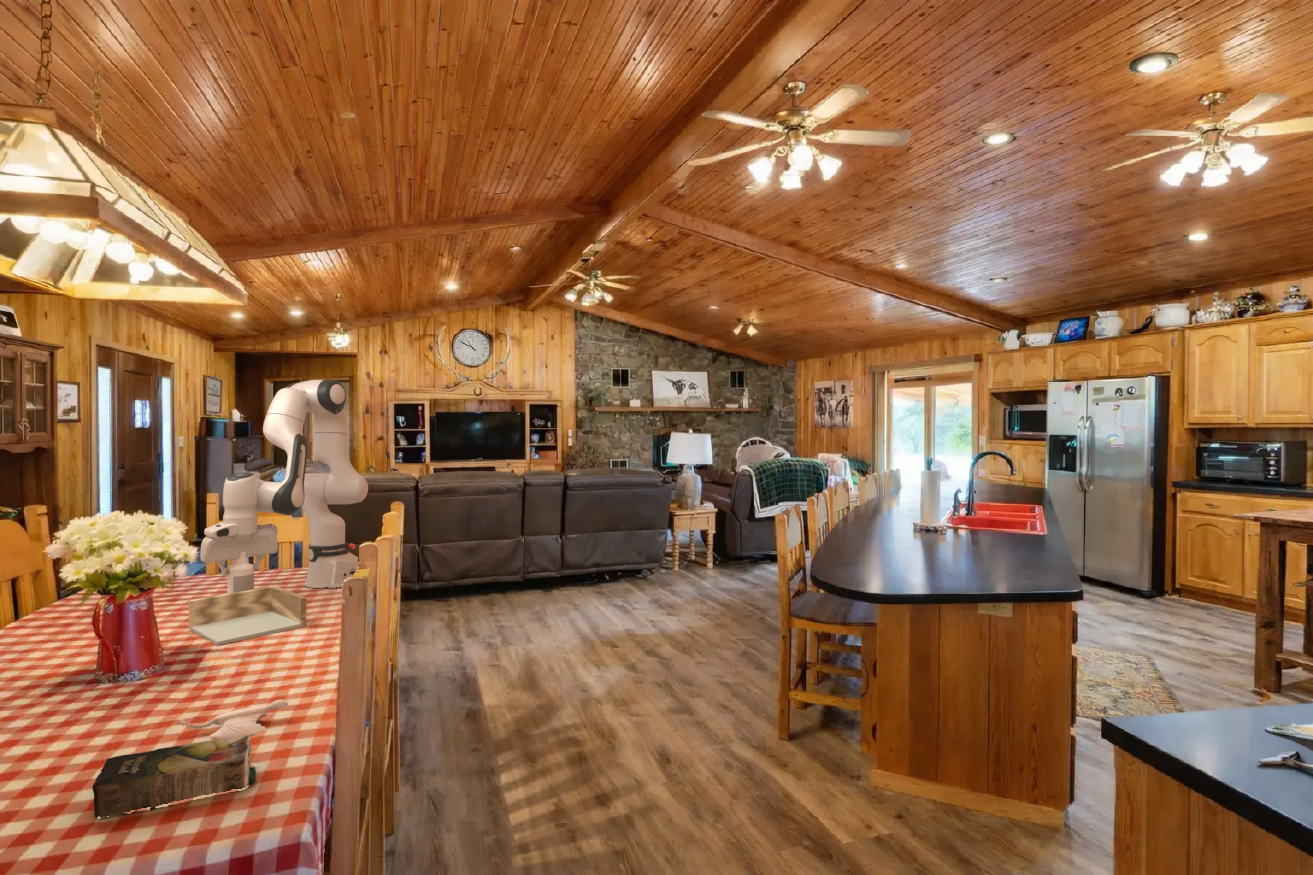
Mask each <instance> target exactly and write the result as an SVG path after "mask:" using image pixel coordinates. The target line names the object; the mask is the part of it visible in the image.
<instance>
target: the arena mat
mask: <svg viewBox="0 0 1313 875" xmlns="http://www.w3.org/2000/svg"><path fill="white" fill-rule="evenodd" d="M299 628H302V627H301V624H300V623H297V622H295V621H293V620H291V619H288V618H286V617H284V616H281V615H279V614H277V613H274V612H272V611H270V612H265V613H260V614H254V615H249V616H244V617H239V618H234V619H229V620H224V621H219V622H214V623H209V624H204V625H199V626H194V627H191V631H190V632H192V631H193V632H192V633H194V634H195V633H196V635H197V634H198V636H199V637H201V636H202V637H204V638H205V639H204V638H203V639H204V640H206V639H207V640H206V641H208V640H209V641H210V643H211V642H213V643H214V644H213V643H212V644H213V645H215V644H216V645H219V646H222V645H221V644H224V645H226V644H225V643H228V644H230V643H229V642H233V643H236V642H241V641H244V640H245V641H246V640H250V639H255V638H258V637H257V636H259V637H263V636H267V634H268V635H272V634H271V633H273V634H276V633H275V632H277V633H280V632H279V631H282V632H286V631H290V630H291V631H292V630H295V629H299ZM202 637H201V638H202ZM254 637H255V638H254ZM209 641H208V642H209ZM216 645H215V646H216Z"/></svg>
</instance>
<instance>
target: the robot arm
mask: <svg viewBox="0 0 1313 875" xmlns="http://www.w3.org/2000/svg"><path fill="white" fill-rule="evenodd" d="M346 401H347V392H346V389H345V387H344V386H343V384H342V383H341V381H338V380H335V379H330V378H326V379H310V380H305V381H300V382H299V381H298V382H297V381H296V382H293V383H290V384H289V385H287V386H286V387H284V388H281V389H279V390H278V391H277V392H276V393H275V395H274V397H273V399H272V401H271V402H270V404H269V407H268V408H267V409H268V410H267V412H266V414H265V418H264V421H263V425H262V432H263V435H264V436H265V438H266V440H267V441H268V442H269V443H271V444H272V445H274V446H275V447H278V448H280V449H281V450H284V451H285V452H286V455H287V461H286V470H285V478H284V479H283V480H282V481H280V482H279V481H268V480H267V481H264V480H262V479H260V478H258V477H256V476H255V474H254V473H252V472H249V471H247V472H237V473H233V474H230V475H228V476H227V477H226V478H225V480H224V483H223V491H222V505H223V508H224V513H223V516H222V521H221V522H218V523H215V524H214V525H211V526H208V527H206V528H205V529H204V531H203V534H204V538H203V539H202V541H201V544H200V556H199V557H200V560H201V561H202V562H203V563H205V564H212V563H216V565H217V566H218V567H219V568H220V570H221V577H225V576H226V577H227V575H229V569H227V568H228V567H225V565H226V562H227V561H233V559H239V558H240V557H241V552H246V557H248V558H252V557H255V559H256V561H255V562H254V563H253V564H252V563H251V564H252V565H254V572H256V571H259V570H260V565H261V563H262V562H263V560H264V556H265V555H273V554H277V552H278V550H279V543H278V538H277V536H278V527H277V525H275V524H273V523H267V524H259V522H258V519H259V518H258V513H266V514H267V513H269V514H278V515H285V516H291V515H294V514H295V513H297V512H298V511H299V510H300V509H301V510H302V511H303V512H304V513H305V516H306V518H307V521H308V526H309V545H308V553H307V554H308V556H307V557H308V570H307V573H306V574H307V575H306V578H305V581H304V587H308V588H311V589H312V588H313V589H314V588H315V589H326V588H327V587H328V588H327V589H330V588H331V589H340V588H341V589H342V588H343V587H342V583H343V581H344V580H345V579H346V578H348V577H350V576H351V575H353V574H354V573H355V572H356V570H357V566H358V558H359V557H358V556H357V555H355V554H353V553H352V552H351V551H350V550H355V549H356V544H355V543H352V542H350V543H349V542H347V541H346V522H345V520H344V519H343V517H341V516H339V515H338V514H336V513H333V512H332V511H330V509H329V507H328V505H352V504H357V503H361V502H363V501H364V500H365V498H366V497H367V495H368V491H369V485H368V481H367V480H366V478H365V476H363V475H362V474H360V473H359V472H358V471H357V470H356V469H355V467H354V466H353V465H352V463H351V460H350V456H349V419H348V412H347V410H346V408H345V405H346ZM307 413H312V414H313V416H314V427H313V439H312V441H313V442H312V454H313V457H314V458H315V459H316V460H317V461H319V462H321V463H323V464H325V465H327V466H328V467H329V470H330V472H328V473H327V472H326V473H325V472H322V473H321V472H308V473H307V472H306V469H307V460H308V447H309V446H308V440H307V437H305V436H304V434H303V429H304V424H305V420H306V415H307ZM257 512H258V513H257ZM240 545H241V546H240ZM325 587H326V588H325ZM336 587H337V588H336ZM339 587H340V588H339Z"/></svg>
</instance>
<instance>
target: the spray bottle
mask: <svg viewBox="0 0 1313 875" xmlns="http://www.w3.org/2000/svg"><path fill="white" fill-rule="evenodd" d="M240 546H241V545H240ZM249 559H250V557H246V552H241V557H240V558H239V559H233V560H232V564H231V565H229V566H228V567H226V568H227V569H229V575H226V579H227V580H226V581H227V586H226V587H227V589H226V590H227V593H226V594H230V593H236V592H242V591H248V590H253V589H255V571H254V565H252V563H250V561H249Z"/></svg>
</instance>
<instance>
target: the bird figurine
mask: <svg viewBox="0 0 1313 875" xmlns="http://www.w3.org/2000/svg"><path fill="white" fill-rule="evenodd" d="M288 705H289V702H287V701H286V700H285V699H276V700H274V701H272V702H271V703H269V704H265V705H264V704H261V705H255V706H248V707H245V708H239V709H237V710H231V711H230V710H229V711H227V712H226V711H225V712H223V713H220V714H219V715H217V716H215V717H214V718H212V719H211V720H210V721H207V722H206V723H203V724H192V723H188V722H186V721H185V720H184V718H182V719H180V723H179V722H177V724H179V725H181V726H183V727H184V726H185V727H187V729H189V728H190V729H192V730H193V729H194V730H198V732H200V730H204V729H206V728H208V727H211V725H214V724H215V725H217V723H218V725H217V726H218V727H217V729H216V731H215V732H213V733H211V734H210V735H209V738H212V739H215V740H218V739H226V738H231V737H238V736H247V735H251V736H253V735H252V734H255V733H258V732H260V731H263V732H265V730H266V731H268V730H267V729H268V728H266V726H265V725H261V723H258V720H259V719H260V717H262V716H267V715H272V714H271V713H272V712H269V711H272V710H277V709H278V710H279V709H283V708H286V707H288ZM268 712H269V714H268ZM265 714H266V715H265ZM270 728H271V729H270ZM272 728H274V727H272V726H271V727H269V729H270V730H273V729H272ZM258 734H259V733H258ZM255 735H256V734H255Z"/></svg>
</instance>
